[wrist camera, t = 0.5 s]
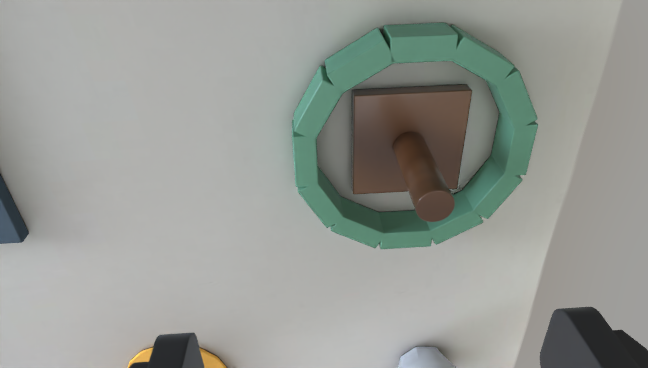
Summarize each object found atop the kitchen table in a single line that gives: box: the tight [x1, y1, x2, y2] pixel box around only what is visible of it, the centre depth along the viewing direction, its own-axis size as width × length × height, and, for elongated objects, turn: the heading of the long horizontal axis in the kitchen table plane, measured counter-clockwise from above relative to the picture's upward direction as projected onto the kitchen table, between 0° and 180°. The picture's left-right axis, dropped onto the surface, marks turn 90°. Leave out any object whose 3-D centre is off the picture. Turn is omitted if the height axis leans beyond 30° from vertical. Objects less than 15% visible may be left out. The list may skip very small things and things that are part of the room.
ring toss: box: [352, 85, 472, 222], centre depth 27 cm, size 7×7×8 cm
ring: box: [292, 23, 538, 249], centre depth 29 cm, size 14×14×2 cm
